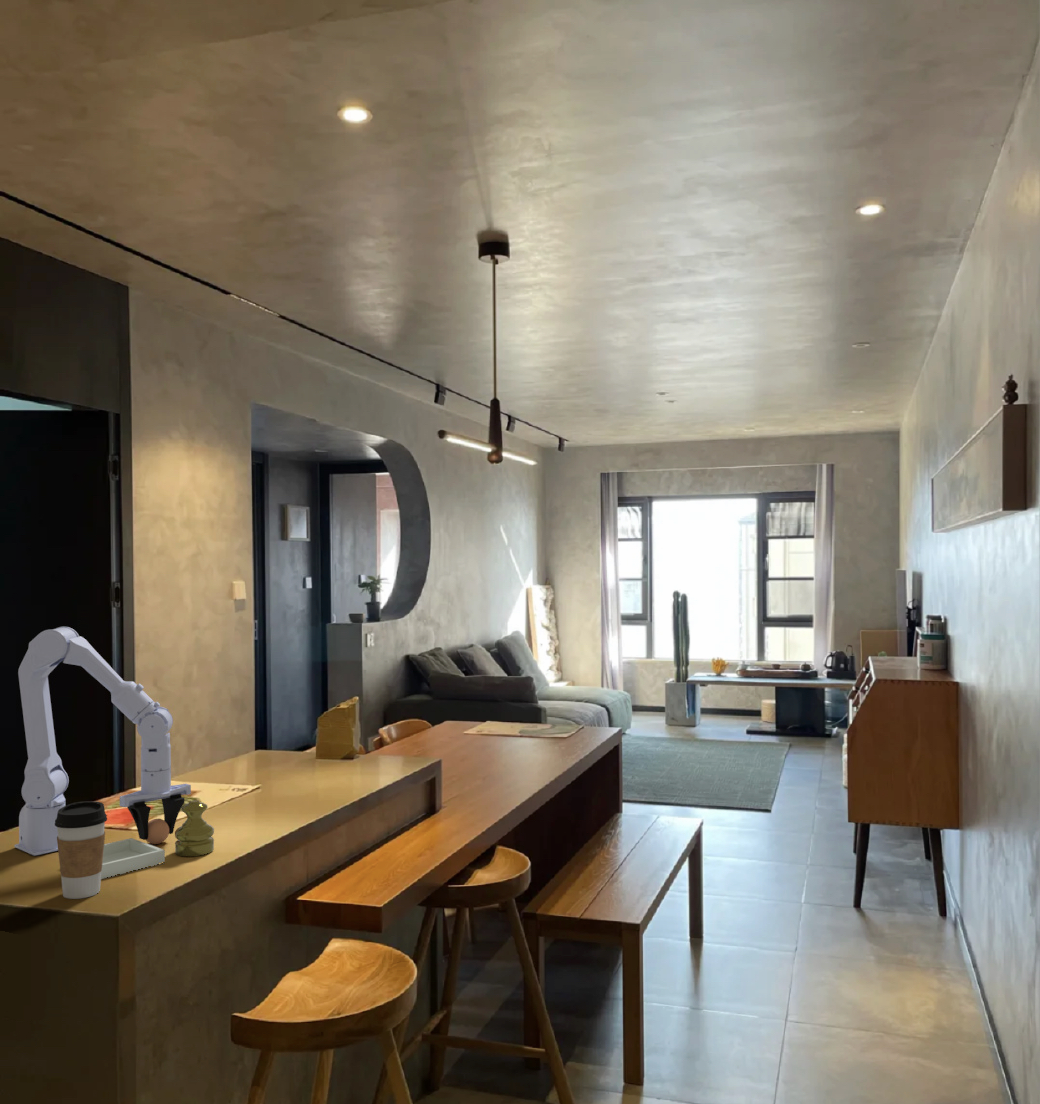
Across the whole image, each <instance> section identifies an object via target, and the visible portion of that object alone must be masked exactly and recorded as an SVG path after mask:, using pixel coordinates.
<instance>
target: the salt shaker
mask: <svg viewBox="0 0 1040 1104" xmlns="http://www.w3.org/2000/svg"><path fill="white" fill-rule="evenodd" d="M208 807H209V806H208V804H207V803H205V802H202V801H200V800H198V799H197V800H195V799H194V800H190V801H189V802H187V803H184V804H183V806H182V807H181V809H180V811H181V812H183V813H184V814H185V815H186V817H187V818H186V820H185V821H184V822H183V823H182V825H180V826H179V827H177V829H175V830H174V831H175V832H174V836H175V839H176V841H175V842H174V845H175V846H174V847H175V849H174V850H175V852H174V853H175V855H177V856H179V855H180V857H184V856H188V858H191V856H194V857H200V855H201V856H204V854H205V855H208V854H211V853H212V852H213V851H214V849H215V845H214V843H215V838H214V837H212V836H213V835H214V834H215V833H214V832H215V828H214V827H213V826H212V825H211V824H210V823H208V822H207V821H205V819H203V817H202V815H203V813H204V812H205V811H206V810H207V809H208ZM207 853H208V854H207ZM189 856H190V857H189Z"/></svg>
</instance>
